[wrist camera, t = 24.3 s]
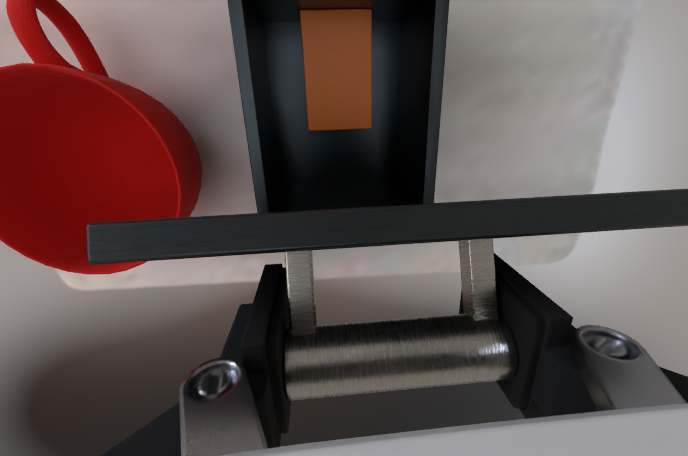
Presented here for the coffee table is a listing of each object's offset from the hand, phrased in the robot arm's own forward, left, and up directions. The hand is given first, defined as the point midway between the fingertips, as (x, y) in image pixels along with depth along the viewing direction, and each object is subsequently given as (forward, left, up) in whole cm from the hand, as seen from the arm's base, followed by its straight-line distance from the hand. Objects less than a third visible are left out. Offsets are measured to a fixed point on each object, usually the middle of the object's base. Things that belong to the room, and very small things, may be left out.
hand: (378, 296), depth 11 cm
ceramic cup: (-4, -17, -21) cm, 27 cm away
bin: (-5, 0, -21) cm, 22 cm away
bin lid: (-1, 0, -4) cm, 4 cm away
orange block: (-8, 0, -20) cm, 22 cm away
